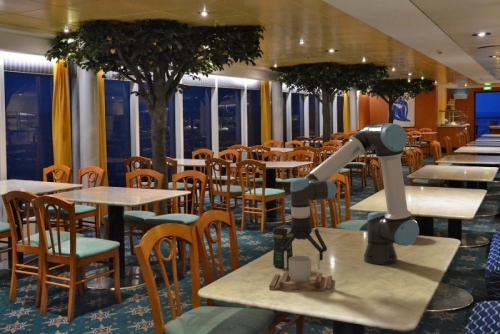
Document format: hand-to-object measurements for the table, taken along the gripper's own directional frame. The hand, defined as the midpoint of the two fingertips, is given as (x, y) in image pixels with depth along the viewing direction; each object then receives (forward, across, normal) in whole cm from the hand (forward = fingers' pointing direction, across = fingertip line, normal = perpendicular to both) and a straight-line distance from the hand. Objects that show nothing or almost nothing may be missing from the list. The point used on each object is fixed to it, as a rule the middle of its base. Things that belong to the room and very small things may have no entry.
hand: (302, 267), depth 224 cm
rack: (+6, 0, +1) cm, 7 cm away
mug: (+6, 0, 0) cm, 6 cm away
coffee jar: (+7, +11, -26) cm, 30 cm away
